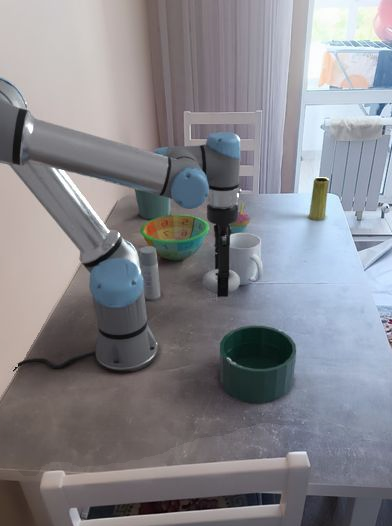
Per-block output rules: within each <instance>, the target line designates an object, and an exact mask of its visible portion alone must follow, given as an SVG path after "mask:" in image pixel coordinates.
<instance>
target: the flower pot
mask: <svg viewBox="0 0 392 526" xmlns="http://www.w3.org/2000/svg"><path fill="white" fill-rule="evenodd" d="M134 194H135V198H136V203H137V208H138V213H139V216H140V217H142V218H143V219H145V220H152V219H155V218H158V217H162V216H168V215H171V198H167V197H164V196H160V195H156V194H152V193H148V192H145V191H141V190H137V189H134Z"/></svg>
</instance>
